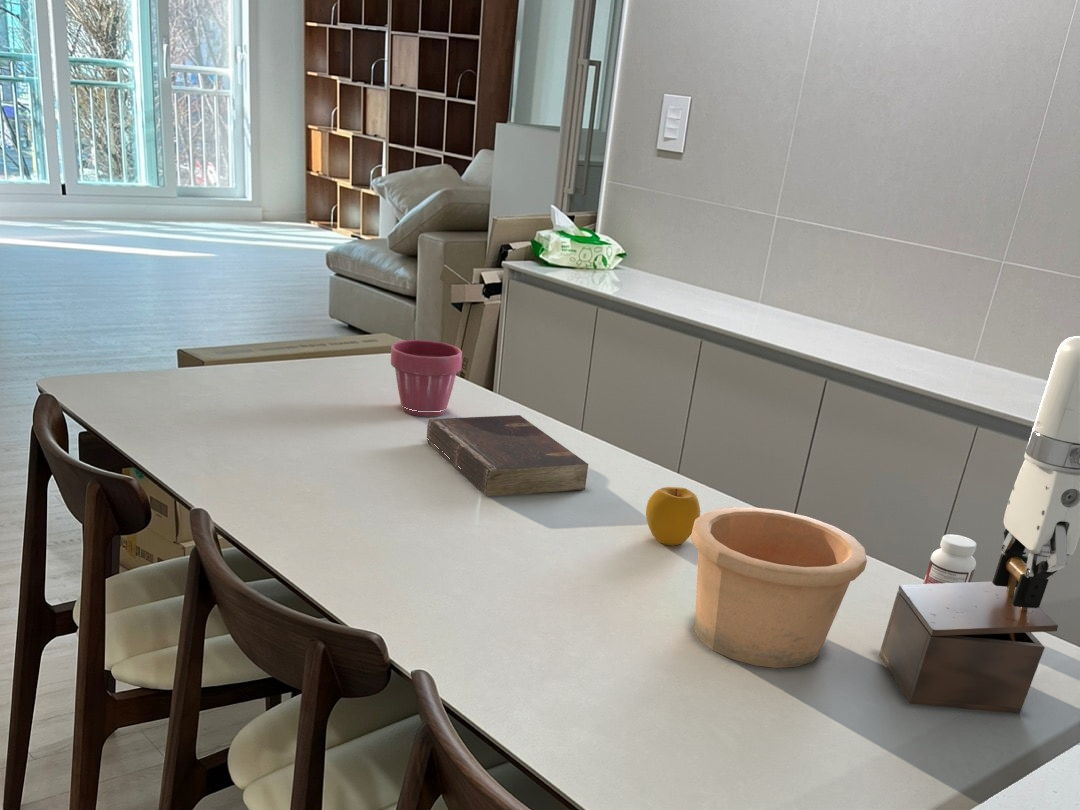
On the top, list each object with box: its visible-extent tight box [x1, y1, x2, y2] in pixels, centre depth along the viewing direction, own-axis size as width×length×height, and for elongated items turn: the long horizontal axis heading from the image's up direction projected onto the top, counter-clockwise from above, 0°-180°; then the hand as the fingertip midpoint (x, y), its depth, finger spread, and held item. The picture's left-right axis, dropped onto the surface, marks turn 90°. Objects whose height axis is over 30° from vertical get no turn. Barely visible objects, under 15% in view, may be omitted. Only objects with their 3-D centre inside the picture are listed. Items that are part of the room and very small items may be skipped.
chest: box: [878, 590, 1046, 715], centre depth 132 cm, size 14×13×9 cm
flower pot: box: [390, 339, 463, 418], centre depth 215 cm, size 14×14×13 cm
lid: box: [897, 557, 1059, 636], centre depth 128 cm, size 15×13×6 cm
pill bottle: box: [922, 534, 978, 584], centre depth 152 cm, size 6×6×11 cm
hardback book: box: [426, 414, 589, 497], centre depth 190 cm, size 29×19×5 cm, turn 25°
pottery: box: [690, 506, 868, 669], centre depth 137 cm, size 22×22×14 cm
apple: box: [645, 486, 701, 547], centre depth 166 cm, size 8×8×9 cm
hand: (1015, 594), depth 128 cm, fingers closed on lid, 5 cm apart
